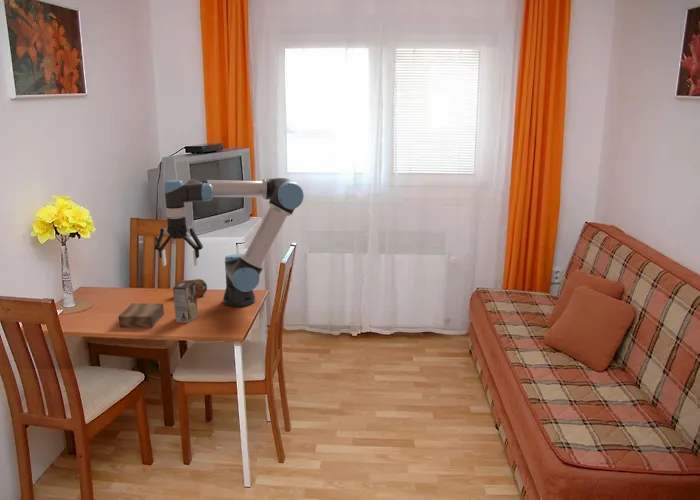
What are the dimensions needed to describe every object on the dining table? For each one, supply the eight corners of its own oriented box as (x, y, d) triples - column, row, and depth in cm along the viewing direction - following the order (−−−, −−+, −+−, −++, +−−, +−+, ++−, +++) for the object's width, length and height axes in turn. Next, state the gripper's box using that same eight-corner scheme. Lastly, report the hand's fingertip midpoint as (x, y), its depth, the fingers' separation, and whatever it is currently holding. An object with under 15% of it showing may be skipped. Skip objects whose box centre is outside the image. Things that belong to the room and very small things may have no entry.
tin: (175, 297, 288) (174, 281, 286) (176, 295, 291) (175, 279, 289) (207, 296, 291) (206, 279, 288) (207, 293, 294) (206, 277, 291)
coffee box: (185, 314, 266) (182, 280, 261) (198, 315, 264) (195, 281, 260) (175, 322, 257) (172, 287, 253) (188, 323, 256) (186, 288, 252)
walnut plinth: (164, 313, 266) (163, 303, 265) (152, 327, 251) (151, 316, 250) (133, 313, 266) (132, 303, 265) (119, 327, 251) (118, 316, 250)
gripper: (207, 214, 253) (211, 262, 258) (149, 215, 253) (154, 262, 259) (203, 218, 246) (207, 267, 251) (143, 219, 246) (148, 267, 251)
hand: (180, 265), depth 255 cm, fingers open, 13 cm apart
